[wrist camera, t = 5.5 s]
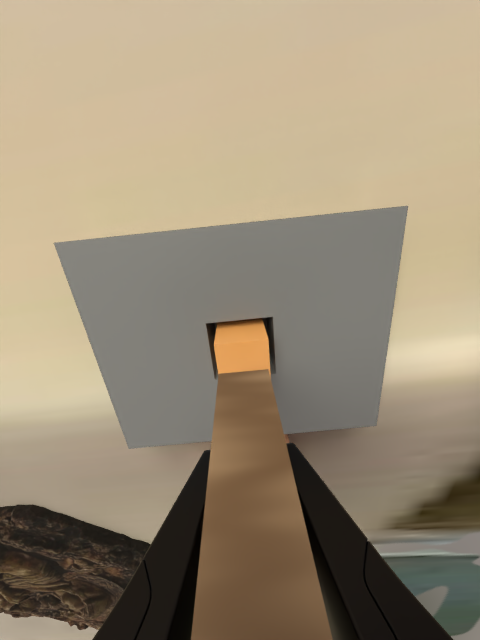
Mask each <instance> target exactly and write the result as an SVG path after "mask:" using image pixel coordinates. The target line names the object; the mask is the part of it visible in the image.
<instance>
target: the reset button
mask: <svg viewBox="0 0 480 640" xmlns="http://www.w3.org/2000/svg"><path fill="white" fill-rule="evenodd" d="M214 350H215V356H216V363H217V369H218V375H219V374H221V373H232V372H243V371H254V370H265V369H269V373H270V357H269V340H268V336H267V333H266V330H265V326H264V323H263V320H262V318H255V319H245V320H235V321H225V322H217V328H216V334H215V340H214ZM270 378H271V374H270Z"/></svg>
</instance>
